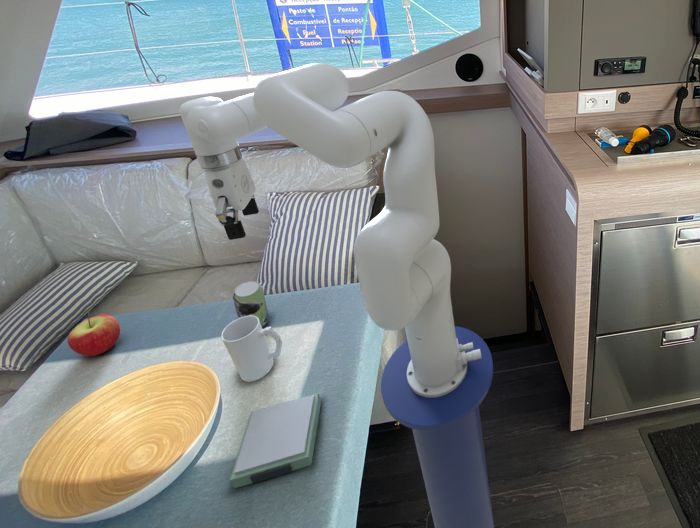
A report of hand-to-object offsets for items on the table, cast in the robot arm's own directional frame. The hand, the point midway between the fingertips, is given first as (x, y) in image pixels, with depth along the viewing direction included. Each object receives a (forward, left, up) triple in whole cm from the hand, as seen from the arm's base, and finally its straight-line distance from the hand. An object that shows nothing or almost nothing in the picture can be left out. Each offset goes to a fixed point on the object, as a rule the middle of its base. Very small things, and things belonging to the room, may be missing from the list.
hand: (244, 225), depth 93 cm
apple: (+38, -2, -27) cm, 47 cm away
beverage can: (+4, +2, -27) cm, 27 cm away
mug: (-1, +16, -27) cm, 31 cm away
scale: (-8, +34, -27) cm, 44 cm away
